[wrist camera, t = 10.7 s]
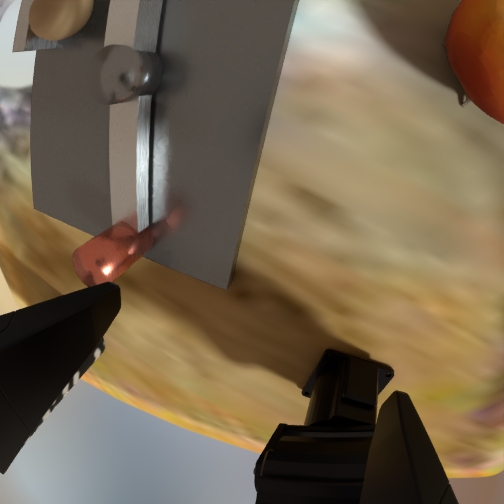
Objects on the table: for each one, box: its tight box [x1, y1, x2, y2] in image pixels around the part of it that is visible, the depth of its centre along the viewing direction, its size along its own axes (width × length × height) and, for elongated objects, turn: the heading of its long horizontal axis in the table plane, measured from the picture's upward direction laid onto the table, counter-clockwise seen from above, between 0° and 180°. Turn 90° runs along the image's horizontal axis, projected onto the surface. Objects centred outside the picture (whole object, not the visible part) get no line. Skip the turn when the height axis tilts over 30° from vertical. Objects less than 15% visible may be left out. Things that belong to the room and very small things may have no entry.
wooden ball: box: [29, 0, 94, 41], centre depth 14 cm, size 5×5×5 cm
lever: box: [73, 0, 163, 287], centre depth 17 cm, size 20×4×6 cm, turn 173°
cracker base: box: [13, 0, 299, 290], centre depth 19 cm, size 22×22×4 cm
